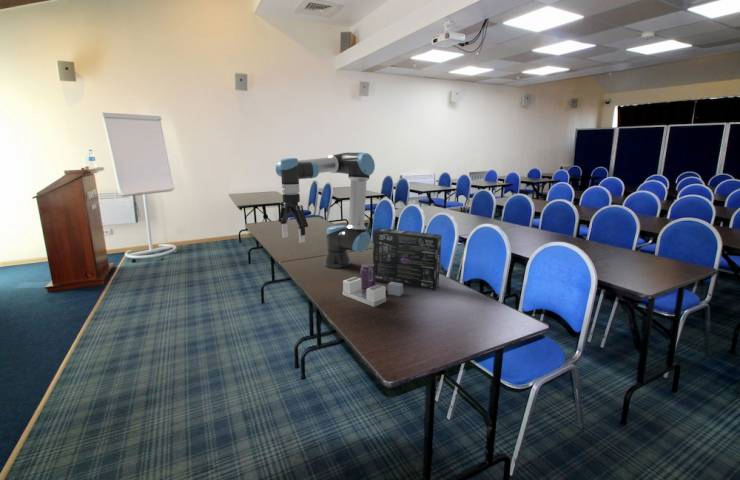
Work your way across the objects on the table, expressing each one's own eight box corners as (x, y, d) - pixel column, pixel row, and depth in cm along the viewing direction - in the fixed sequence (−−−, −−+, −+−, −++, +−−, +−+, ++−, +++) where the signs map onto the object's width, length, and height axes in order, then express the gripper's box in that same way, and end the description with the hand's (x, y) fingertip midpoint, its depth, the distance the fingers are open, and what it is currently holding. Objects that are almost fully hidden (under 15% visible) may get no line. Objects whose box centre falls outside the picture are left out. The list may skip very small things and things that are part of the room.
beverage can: (376, 286, 182) (377, 263, 179) (372, 291, 175) (372, 267, 172) (363, 285, 184) (363, 262, 181) (358, 290, 177) (358, 266, 174)
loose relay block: (391, 291, 176) (391, 281, 175) (402, 293, 173) (402, 283, 172) (387, 294, 173) (387, 284, 171) (399, 296, 170) (399, 286, 169)
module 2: (378, 294, 166) (378, 283, 165) (385, 297, 163) (385, 285, 162) (366, 299, 161) (366, 287, 160) (373, 302, 158) (374, 290, 157)
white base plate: (354, 290, 177) (354, 286, 177) (386, 301, 164) (386, 297, 163) (342, 294, 171) (342, 290, 171) (374, 306, 158) (374, 302, 158)
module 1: (354, 286, 176) (354, 275, 175) (361, 288, 173) (361, 277, 172) (343, 290, 171) (342, 279, 170) (349, 293, 168) (349, 281, 167)
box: (439, 286, 183) (441, 233, 176) (435, 291, 176) (437, 236, 170) (377, 276, 196) (378, 227, 190) (372, 281, 190) (372, 230, 184)
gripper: (268, 192, 170) (272, 236, 175) (300, 196, 153) (302, 245, 158) (282, 190, 175) (285, 234, 180) (314, 195, 158) (316, 242, 163)
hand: (293, 239), depth 169 cm, fingers open, 13 cm apart
